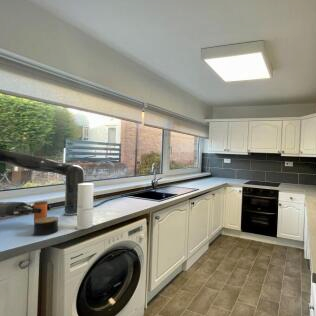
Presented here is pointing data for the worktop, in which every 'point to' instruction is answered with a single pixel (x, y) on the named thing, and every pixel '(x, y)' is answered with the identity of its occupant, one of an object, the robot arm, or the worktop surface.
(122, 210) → the worktop surface
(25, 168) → the robot arm
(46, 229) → the black canister
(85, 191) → the cylindrical container
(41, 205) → the orange tin
